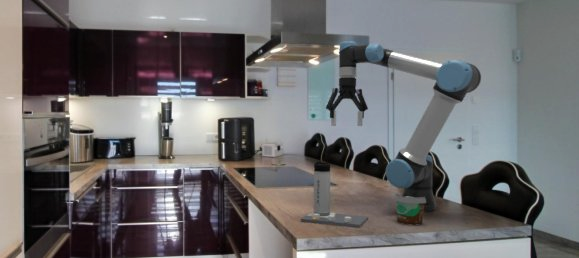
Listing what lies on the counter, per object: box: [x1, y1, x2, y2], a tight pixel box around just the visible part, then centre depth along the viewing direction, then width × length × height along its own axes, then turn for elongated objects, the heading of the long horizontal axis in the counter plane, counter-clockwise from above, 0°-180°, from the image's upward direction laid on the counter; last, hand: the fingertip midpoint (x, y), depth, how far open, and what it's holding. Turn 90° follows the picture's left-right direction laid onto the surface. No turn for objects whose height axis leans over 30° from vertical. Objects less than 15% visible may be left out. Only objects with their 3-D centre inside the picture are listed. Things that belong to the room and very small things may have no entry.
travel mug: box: [313, 161, 331, 216], centre depth 165 cm, size 6×7×20 cm
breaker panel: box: [300, 210, 369, 228], centre depth 161 cm, size 22×14×2 cm, turn 68°
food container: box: [393, 192, 426, 226], centre depth 158 cm, size 12×6×10 cm, turn 45°
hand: (346, 126), depth 191 cm, fingers open, 13 cm apart
